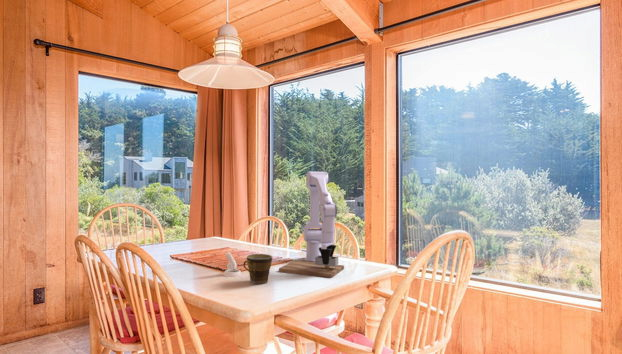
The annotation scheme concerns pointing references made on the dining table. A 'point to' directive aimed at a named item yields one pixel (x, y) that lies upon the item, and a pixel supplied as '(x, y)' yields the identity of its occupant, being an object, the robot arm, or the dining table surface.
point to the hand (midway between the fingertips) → (327, 262)
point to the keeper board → (311, 269)
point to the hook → (231, 267)
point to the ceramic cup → (258, 267)
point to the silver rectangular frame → (332, 261)
